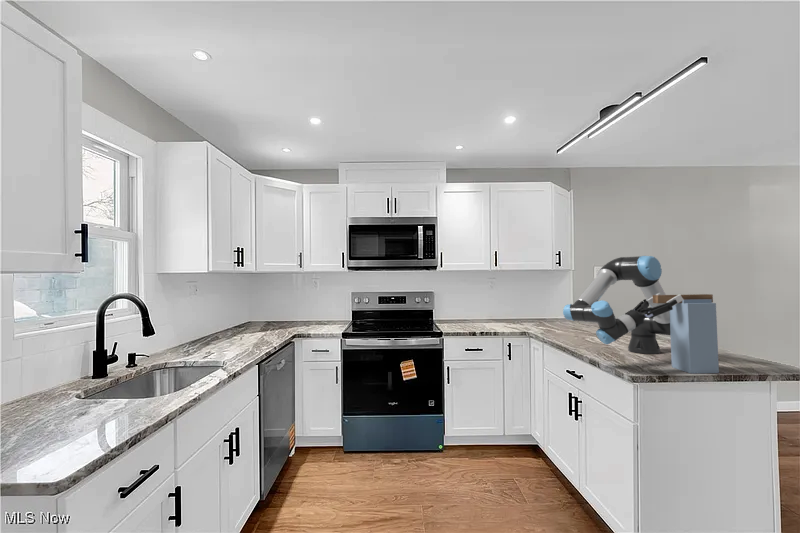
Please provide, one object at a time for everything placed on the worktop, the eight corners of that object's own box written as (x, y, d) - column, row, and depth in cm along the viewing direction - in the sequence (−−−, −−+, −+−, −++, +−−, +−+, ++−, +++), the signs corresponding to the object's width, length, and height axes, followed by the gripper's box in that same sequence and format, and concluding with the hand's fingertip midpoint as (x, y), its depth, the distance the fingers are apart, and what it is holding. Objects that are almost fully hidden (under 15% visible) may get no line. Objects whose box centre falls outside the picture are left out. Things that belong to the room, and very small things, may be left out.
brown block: (652, 302, 176) (652, 295, 176) (706, 301, 176) (706, 294, 176) (657, 303, 173) (657, 295, 173) (712, 302, 172) (712, 294, 172)
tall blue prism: (671, 367, 179) (669, 298, 180) (698, 366, 179) (695, 298, 180) (690, 373, 167) (687, 300, 168) (718, 373, 167) (715, 299, 168)
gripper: (619, 324, 187) (657, 301, 187) (652, 331, 162) (695, 305, 162) (611, 311, 187) (649, 288, 187) (642, 316, 162) (686, 290, 162)
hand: (670, 296), depth 174 cm, fingers open, 13 cm apart
